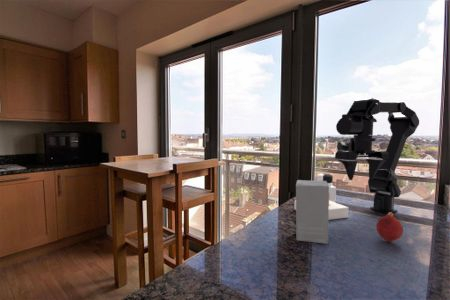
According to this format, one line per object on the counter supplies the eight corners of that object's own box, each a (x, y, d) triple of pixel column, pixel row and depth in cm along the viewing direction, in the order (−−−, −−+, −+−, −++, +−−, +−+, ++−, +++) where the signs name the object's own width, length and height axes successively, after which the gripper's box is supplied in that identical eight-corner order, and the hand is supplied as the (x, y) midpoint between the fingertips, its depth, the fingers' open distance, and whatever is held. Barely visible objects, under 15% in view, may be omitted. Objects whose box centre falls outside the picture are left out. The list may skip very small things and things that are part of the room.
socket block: (322, 206, 94) (322, 197, 94) (348, 217, 82) (348, 207, 82) (294, 209, 91) (294, 200, 90) (316, 221, 78) (317, 210, 78)
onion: (394, 248, 59) (395, 217, 59) (371, 239, 64) (372, 211, 64) (406, 244, 62) (408, 214, 62) (383, 235, 67) (384, 208, 67)
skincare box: (326, 235, 67) (328, 180, 66) (328, 246, 60) (330, 185, 59) (295, 231, 70) (296, 178, 69) (294, 241, 63) (295, 182, 62)
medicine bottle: (329, 199, 105) (330, 173, 104) (335, 204, 97) (336, 175, 97) (313, 199, 105) (314, 172, 104) (317, 203, 98) (318, 175, 97)
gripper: (363, 135, 93) (361, 174, 94) (324, 134, 87) (323, 176, 88) (391, 135, 82) (388, 179, 83) (348, 134, 77) (346, 182, 78)
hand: (360, 179), depth 83 cm, fingers open, 9 cm apart
